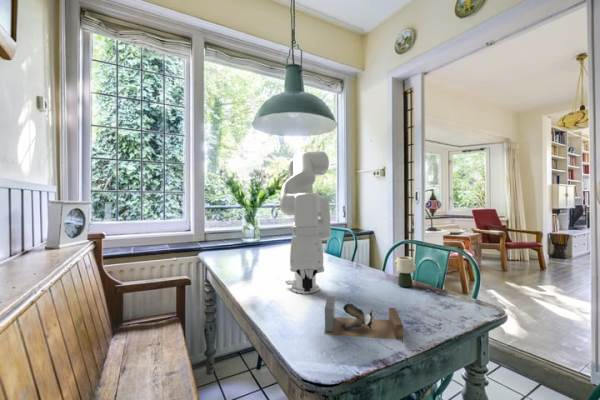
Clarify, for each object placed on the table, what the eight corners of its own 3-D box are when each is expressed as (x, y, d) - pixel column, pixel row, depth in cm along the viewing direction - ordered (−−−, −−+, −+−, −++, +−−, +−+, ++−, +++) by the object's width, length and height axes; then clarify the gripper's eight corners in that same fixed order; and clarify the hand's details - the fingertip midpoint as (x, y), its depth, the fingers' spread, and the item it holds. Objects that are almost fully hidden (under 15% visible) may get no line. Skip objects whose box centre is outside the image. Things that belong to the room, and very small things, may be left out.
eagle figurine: (370, 317, 88) (342, 310, 90) (374, 303, 84) (345, 297, 86) (369, 340, 82) (339, 332, 84) (374, 326, 78) (342, 319, 80)
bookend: (325, 332, 81) (324, 308, 81) (327, 317, 91) (327, 296, 91) (333, 332, 81) (332, 309, 81) (334, 318, 91) (334, 297, 91)
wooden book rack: (324, 339, 80) (323, 320, 80) (327, 321, 92) (326, 304, 92) (403, 344, 77) (402, 325, 77) (395, 325, 88) (395, 308, 88)
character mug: (420, 287, 125) (420, 258, 125) (411, 290, 120) (411, 261, 120) (399, 281, 133) (399, 255, 133) (390, 284, 129) (390, 257, 129)
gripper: (280, 233, 85) (281, 293, 84) (329, 233, 82) (330, 295, 82) (286, 230, 92) (286, 286, 92) (331, 230, 89) (332, 287, 89)
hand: (307, 290), depth 87 cm, fingers closed
